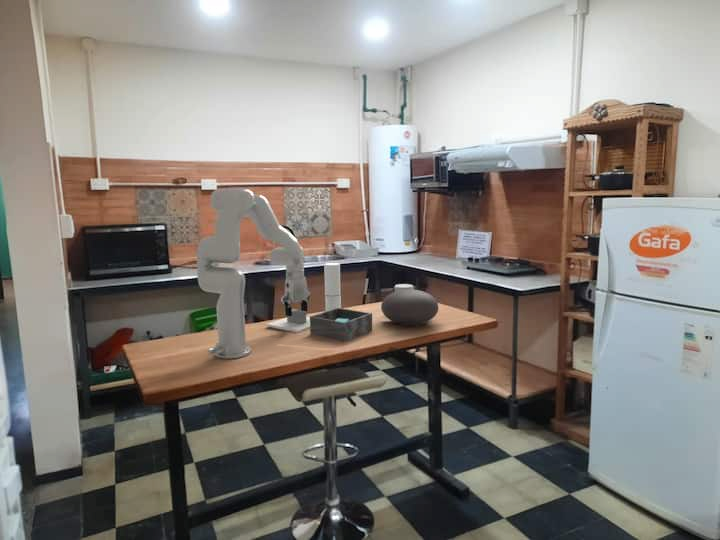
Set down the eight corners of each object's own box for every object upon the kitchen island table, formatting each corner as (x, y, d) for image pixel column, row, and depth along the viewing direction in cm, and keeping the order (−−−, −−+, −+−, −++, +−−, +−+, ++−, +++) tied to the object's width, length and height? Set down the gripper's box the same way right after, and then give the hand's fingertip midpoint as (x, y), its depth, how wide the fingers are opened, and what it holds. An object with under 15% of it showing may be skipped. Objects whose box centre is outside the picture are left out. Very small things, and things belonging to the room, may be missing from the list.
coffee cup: (414, 311, 234) (414, 287, 232) (395, 312, 234) (395, 287, 232) (412, 307, 244) (412, 283, 242) (393, 307, 243) (393, 284, 242)
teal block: (345, 334, 197) (345, 322, 196) (333, 333, 198) (333, 321, 197) (349, 330, 202) (349, 319, 201) (337, 330, 203) (337, 318, 202)
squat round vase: (405, 313, 232) (405, 282, 229) (449, 322, 214) (450, 289, 212) (369, 324, 214) (369, 290, 212) (414, 335, 197) (414, 298, 195)
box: (345, 343, 188) (345, 323, 186) (310, 335, 198) (309, 316, 197) (372, 332, 202) (372, 313, 201) (338, 325, 212) (337, 307, 211)
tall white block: (342, 315, 230) (340, 262, 226) (339, 319, 223) (338, 265, 219) (327, 315, 231) (325, 262, 227) (324, 319, 224) (322, 265, 220)
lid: (297, 335, 200) (297, 318, 199) (266, 328, 211) (265, 312, 210) (327, 325, 215) (326, 309, 214) (296, 319, 226) (295, 304, 225)
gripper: (287, 278, 201) (288, 319, 203) (315, 272, 214) (316, 310, 217) (274, 277, 205) (276, 316, 208) (302, 271, 219) (303, 308, 221)
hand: (296, 313), depth 212 cm, fingers open, 9 cm apart
